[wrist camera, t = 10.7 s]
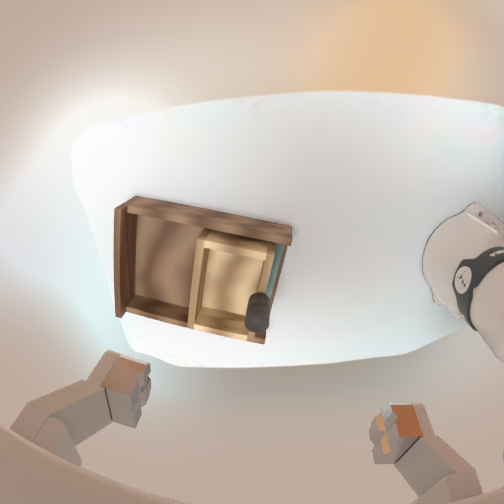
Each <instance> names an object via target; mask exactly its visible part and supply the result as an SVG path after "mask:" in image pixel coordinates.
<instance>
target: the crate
mask: <svg viewBox="0 0 504 504" xmlns="http://www.w3.org/2000/svg"><path fill="white" fill-rule="evenodd" d="M274 255H275V242H270V241H265V240H260V239H256V238H251V237H246V236H241V235H236V234H232V233H227V232H222V231H217V230H212V229H207V228H204V230H203V231H202V232H201V234H200V235H199V237H198V238H197V244H196V251H195V260H194V268H193V276H192V285H191V295H190V304H189V314H188V324H187V328H191V329H195V330H199V331H203V332H208V333H212V334H216V335H221V336H225V337H230V338H235V339H240V340H244V341H249V342H253V340H254V336H255V333H260V332H263V331H265V330H266V329H267V328H268V326H269V316H270V298H269V297H268V296H267V295H266V294H265V292H266V288H267V284H268V280H269V276H270V272H271V268H272V264H273V260H274Z"/></svg>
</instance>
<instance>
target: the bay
mask: <svg viewBox="0 0 504 504" xmlns="http://www.w3.org/2000/svg"><path fill="white" fill-rule="evenodd" d="M204 228H207V229H212V230H217V231H222V232H227V233H232V234H236V235H241V236H246V237H251V238H256V239H260V240H265V241H270V242H275V255H274V260H273V264H272V268H271V272H270V276H269V280H268V284H267V288H266V292H265V294H266V295H267V296H268V297H269V298H270V310H271V307H272V303H273V299H274V295H275V292H276V288H277V284H278V280H279V276H280V272H281V268H282V265H283V261H284V257H285V253H286V249H287V245H289V246H291V242H292V230H291V227H290V226H285V225H281V224H276V223H271V222H267V221H262V220H257V219H252V218H248V217H243V216H238V215H233V214H228V213H223V212H218V211H213V210H208V209H203V208H198V207H192V206H187V205H182V204H177V203H171V202H166V201H160V200H155V199H150V198H144V197H138V196H135V197H133V198H132V199H130V200H128V201H126V202H125V203H123V204H121V205H120V206H118V207H116V208H115V213H114V292H115V313H116V317H119V318H122V316H123V315H124V314H125V312H130V313H133V314H137V315H140V316H144V317H148V318H151V319H155V320H159V321H163V322H167V323H171V324H174V325H178V326H182V327H187V324H188V314H189V304H190V295H191V285H192V276H193V268H194V260H195V251H196V244H197V238H198V237H199V235H200V234H201V232H202V231H203V230H204ZM265 338H266V330H265V331H263V332H260V333H255V336H254V340H253V342H254V343H260V344H264V343H265Z"/></svg>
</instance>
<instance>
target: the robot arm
mask: <svg viewBox="0 0 504 504" xmlns="http://www.w3.org/2000/svg"><path fill="white" fill-rule="evenodd" d="M479 213H480V215H479ZM423 273H424V276H425V279H426V281H427V283H428V284H429V285H430V287H431V289H432V292H433V299H434V302H435V303H436V304H437V305H439V306H446V307H447V308H448V309H449V310H450V311H451V312H452V313H453V314H454V316H455V317H456V318H458V319H460V318H464V320H465V321H466V322H467V324H469V326H471V327H472V328H473V329H474V330H475V331H477V332H479V334H480V335H481V336H482V337H483V339H484V341H485V342H486V343H487V345H488V346H489V348H490V349H491V350H492V352H493V353H494V355H495V356H496V358H498V359H499V360H500V361H502V362H504V224H503V223H502V222H501V221H500V220H498V219H497V218H496V217H495V216H493V215H492V214H491V213H490V212H488V211H487V210H486V209H484V208H483V207H482V206H480V205H479V204H478V203H472V204H471V205H469V206H468V207H467V208H466V209H465V210H464V211H463V212H462V213H461V214H458V215H456V216H453V217H451V218H449V219H447V220H446V221H444V222H443V223H442V224H441V225H440V226H439V227H438V228H437V229H436V230H435V231H434V233H433V234H432V235H431V237H430V239H429V241H428V243H427V245H426V248H425V251H424V255H423ZM150 371H151V369H150V364H149V363H147V362H144V361H141V360H138V359H135V358H132V357H129V356H126V355H123V354H120V353H117V352H114V351H111V350H108V351H106V352H105V353H104V354H103V356H102V358H101V359H100V360H99V362H98V364H97V365H96V367H95V368H94V370H93V371H92V373H91V374H90V376H89V377H88V379H87V380H86V381H85V380H80V381H78V382H76V383H73V384H71V385H69V386H66V387H64V388H62V389H59V390H57V391H54V392H52V393H50V394H47V395H45V396H42V397H40V398H38V399H35V400H33V401H30V402H28V403H27V404H26V406H25V407H24V409H23V410H22V411H21V413H20V414H19V416H18V417H17V419H16V420H15V422H14V423H13V424H12V426H11V427H10V429H9V428H8V427H6V426H5V425H3V424H2V423H0V504H191V503H186V502H182V501H178V500H174V499H170V498H166V497H163V496H159V495H156V494H152V493H149V492H146V491H143V490H139V489H137V488H134V487H130V486H127V485H125V484H122V483H119V482H116V481H114V480H111V479H108V478H106V477H103V476H101V475H99V474H96V473H93V472H91V471H89V470H86V469H84V468H82V467H80V466H81V464H82V460H81V457H80V455H79V454H78V451H77V449H76V447H75V446H76V445H78V444H79V443H81V442H83V441H84V440H86V439H87V438H89V437H90V436H92V435H94V434H95V433H96V432H98V431H99V430H101V429H103V428H104V427H106V426H107V425H109V424H110V423H112V421H114V422H116V423H119V424H123V425H126V426H129V427H132V428H136V426H137V423H138V421H139V419H140V416H141V407H142V406H144V405H145V404H146V402H147V400H148V397H149V393H150V389H151V379H150V378H149V377H148V375H149V373H150ZM369 435H370V440H371V441H372V442H373V443H374V445H375V446H374V448H373V449H372V452H373V457H374V462H375V464H394V465H395V467H396V468H397V469H398V471H399V472H400V473H401V474H402V476H403V477H404V478H405V480H406V481H407V482H408V484H409V485H410V486H411V487H412V489H413V490H414V491H415V493H416V494H417V495H418V496H419V498H418V499H417V500H415V501H414V502H412V503H411V504H504V487H501V488H498V489H495V490H493V491H490V492H487V493H483V492H482V489H481V486H480V483H479V480H478V477H477V474H476V471H475V469H474V468H473V467H472V466H471V465H470V464H469V463H468V462H467V461H466V460H464V459H463V458H462V457H461V456H460V455H459V454H458V453H457V452H456V451H454V450H453V449H452V448H451V447H450V446H449V445H448V444H447V443H445V442H444V441H443V440H442V439H441V438H440V437H439V436H435V435H434V432H433V429H432V426H431V423H430V420H429V418H428V415H427V412H426V410H425V407H424V405H423V404H422V403H410V404H409V403H386V404H384V405H383V407H382V408H381V414H379V415H377V416H376V417H375V418H374V419H373V421H372V422H371V426H370V430H369ZM503 459H504V452H503Z"/></svg>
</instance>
